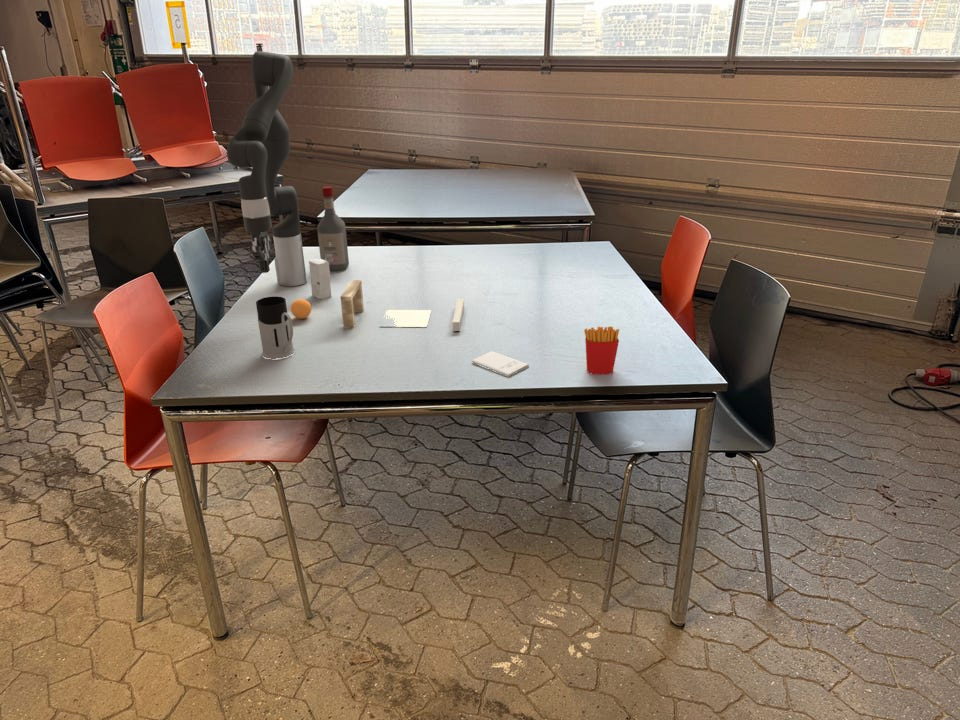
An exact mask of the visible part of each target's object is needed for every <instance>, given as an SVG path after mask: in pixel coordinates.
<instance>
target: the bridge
mask: <svg viewBox="0 0 960 720" xmlns="http://www.w3.org/2000/svg"><path fill="white" fill-rule="evenodd" d="M339 297H340V305H341V315H342V324H343V325H342V327H343V328H344V327H354V328H355V326H356V321H355V320H356V319H355V313H363V312H364V310H365V307H364V295H363V284H362V280H361V279H357V280H355V279H352V280H350V282H349V283H348V285H347V286H346V288H345V289H344V290H343V292H342V294H340V296H339ZM354 325H355V326H354Z"/></svg>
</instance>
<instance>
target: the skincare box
mask: <svg viewBox="0 0 960 720" xmlns="http://www.w3.org/2000/svg"><path fill="white" fill-rule="evenodd" d="M308 264H309V266H308V268H309V276H310V277H309V278H310V288H311V295H312V297H315V298H316V297H317V299H319V300H325V299H327V298H331V297H332V286H331V272H330V270H329V262H327V261H325V260H323V259H321V258H320V257H319V258H315V259H314V258H313V259H309V260H308Z"/></svg>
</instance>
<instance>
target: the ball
mask: <svg viewBox="0 0 960 720" xmlns="http://www.w3.org/2000/svg"><path fill="white" fill-rule="evenodd" d="M290 312H291V313H292V315H293V317H295V318H296V319H298V320H299V319H302V320H303V319H305V318H306V319H307V318H308V317H309V316H310V314H311V312H312V306H311V304H310V302H309V301H307V300H306V299H305V298H299V299H296V300H294V301H292V303H291V305H290Z"/></svg>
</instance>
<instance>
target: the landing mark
mask: <svg viewBox="0 0 960 720" xmlns="http://www.w3.org/2000/svg"><path fill="white" fill-rule="evenodd" d="M432 311H433V310H432V309H387V310H386V312H385V314H386V319H387V315H388V319H389V316H390V319H391V318H393V320H394V318H395V320H394V322H395V323H394V324H395V325H397V326H396V327H395V328H402V327H428V324H429V321H430V317H431V315H430V314H432ZM384 317H385V315H384V316H383V318H384ZM396 321H397V322H396ZM395 325H394V326H395Z"/></svg>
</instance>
